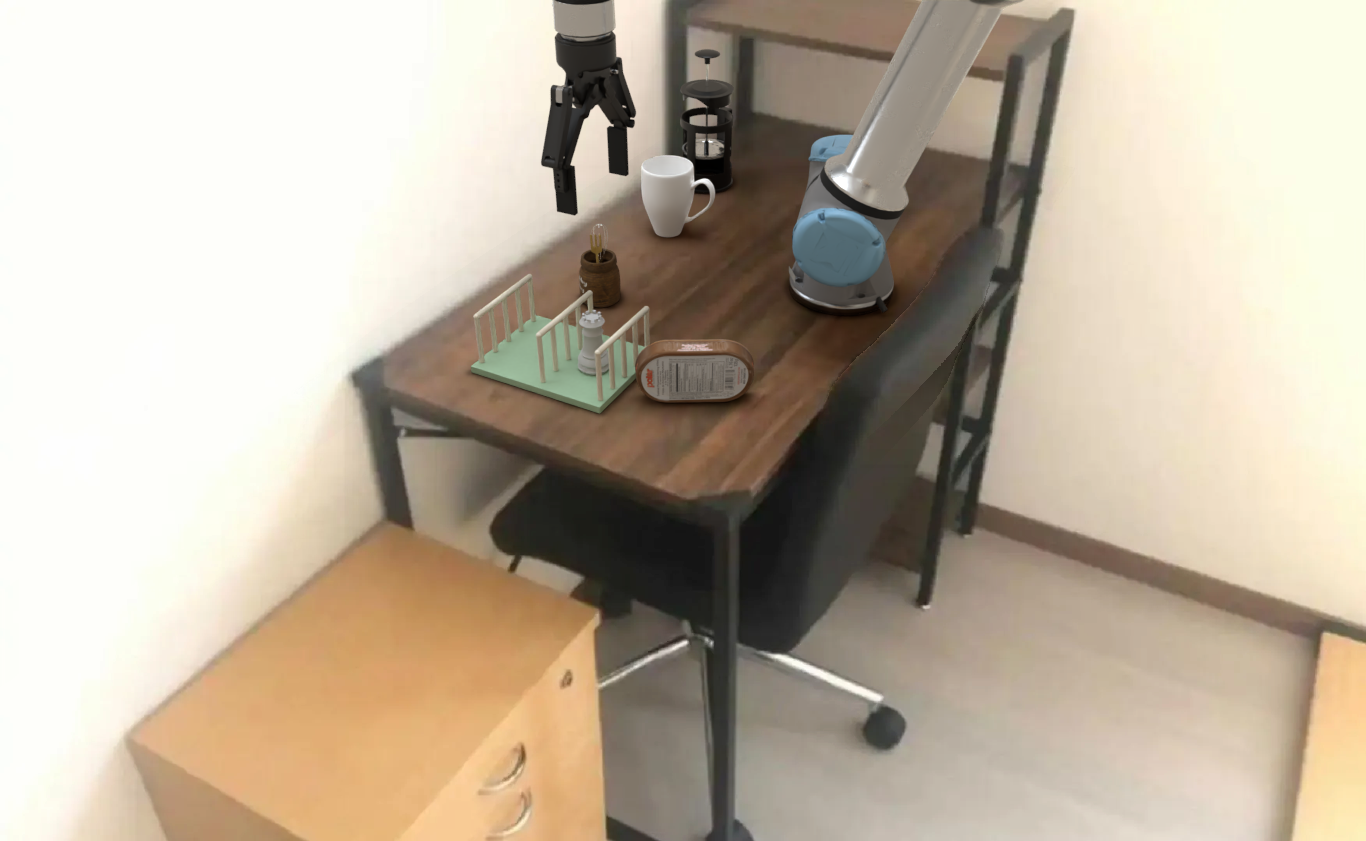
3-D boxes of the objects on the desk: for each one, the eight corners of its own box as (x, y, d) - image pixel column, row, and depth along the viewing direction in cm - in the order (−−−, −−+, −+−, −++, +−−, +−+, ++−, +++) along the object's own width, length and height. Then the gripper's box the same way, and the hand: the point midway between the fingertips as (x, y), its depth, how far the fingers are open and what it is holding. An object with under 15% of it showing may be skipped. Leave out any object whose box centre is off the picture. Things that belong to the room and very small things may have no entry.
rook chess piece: (573, 361, 149) (569, 309, 144) (605, 355, 150) (603, 303, 145) (583, 379, 145) (579, 326, 141) (616, 372, 147) (613, 320, 142)
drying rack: (658, 356, 152) (657, 302, 147) (599, 413, 141) (596, 357, 136) (535, 320, 159) (530, 268, 154) (471, 372, 149) (463, 317, 144)
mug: (634, 238, 180) (632, 171, 173) (653, 216, 186) (652, 151, 179) (704, 250, 176) (705, 183, 170) (722, 228, 183) (723, 162, 176)
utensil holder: (621, 288, 167) (618, 214, 160) (619, 310, 162) (616, 234, 155) (582, 288, 167) (577, 214, 160) (578, 310, 162) (573, 234, 155)
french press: (709, 200, 191) (711, 66, 178) (666, 186, 196) (664, 54, 182) (748, 177, 199) (753, 47, 185) (705, 164, 203) (707, 36, 190)
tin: (752, 390, 145) (754, 335, 140) (754, 404, 143) (756, 348, 138) (635, 393, 145) (634, 337, 140) (635, 407, 142) (634, 351, 137)
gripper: (608, 1, 148) (615, 154, 161) (502, 57, 130) (518, 224, 143) (659, 9, 145) (661, 163, 158) (557, 67, 127) (569, 236, 140)
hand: (594, 192), depth 150 cm, fingers open, 13 cm apart
